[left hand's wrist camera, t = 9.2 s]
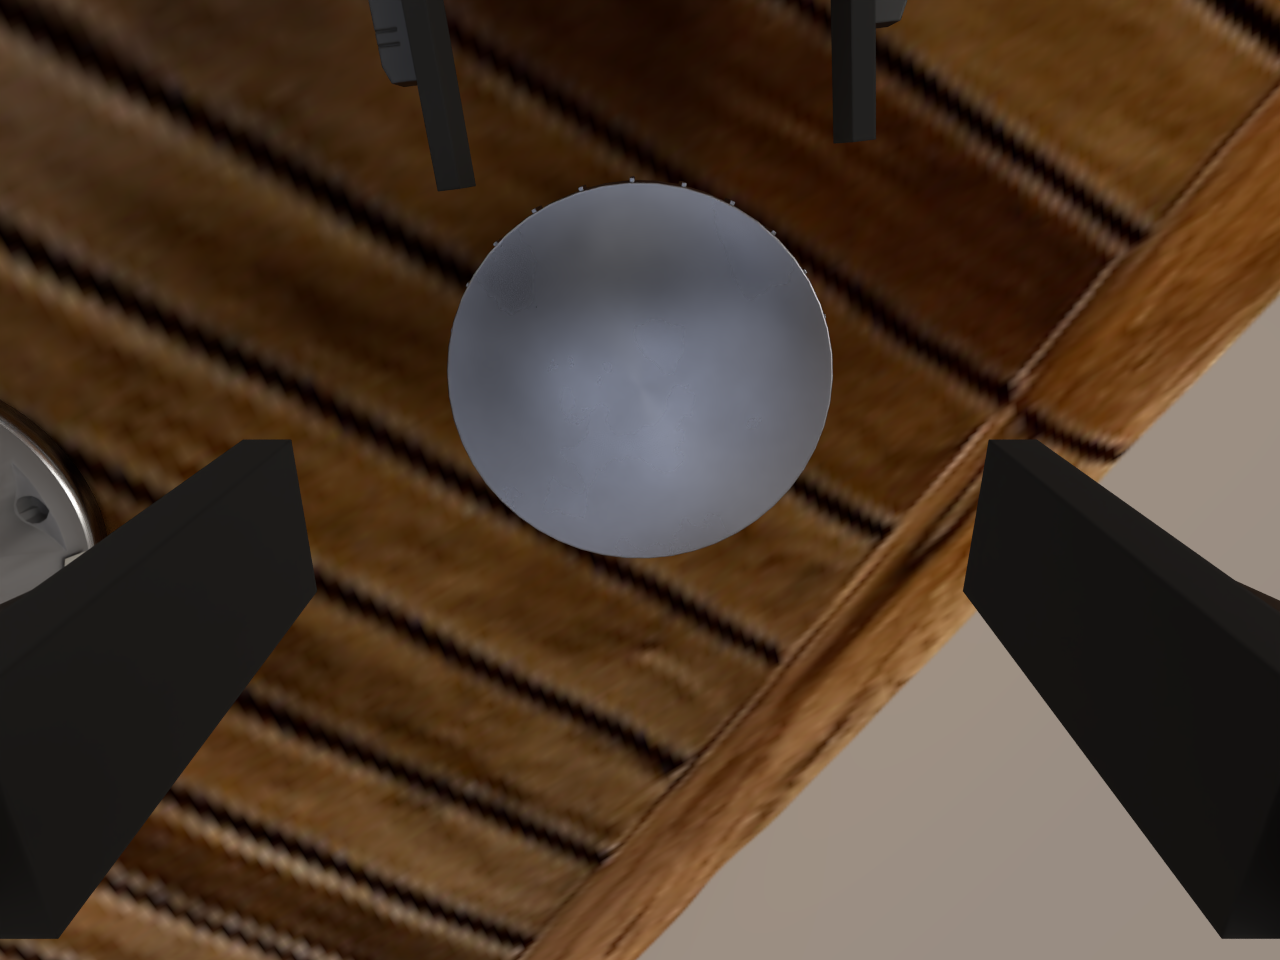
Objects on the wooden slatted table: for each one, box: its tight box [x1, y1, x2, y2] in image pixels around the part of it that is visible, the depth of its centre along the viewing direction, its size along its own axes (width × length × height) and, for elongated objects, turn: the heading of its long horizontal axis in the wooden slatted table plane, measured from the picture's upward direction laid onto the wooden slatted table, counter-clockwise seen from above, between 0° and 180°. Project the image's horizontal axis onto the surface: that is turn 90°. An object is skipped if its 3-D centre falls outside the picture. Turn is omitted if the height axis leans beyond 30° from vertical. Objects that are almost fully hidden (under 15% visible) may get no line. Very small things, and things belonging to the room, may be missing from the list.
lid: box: [447, 177, 833, 558], centre depth 21 cm, size 10×10×2 cm
